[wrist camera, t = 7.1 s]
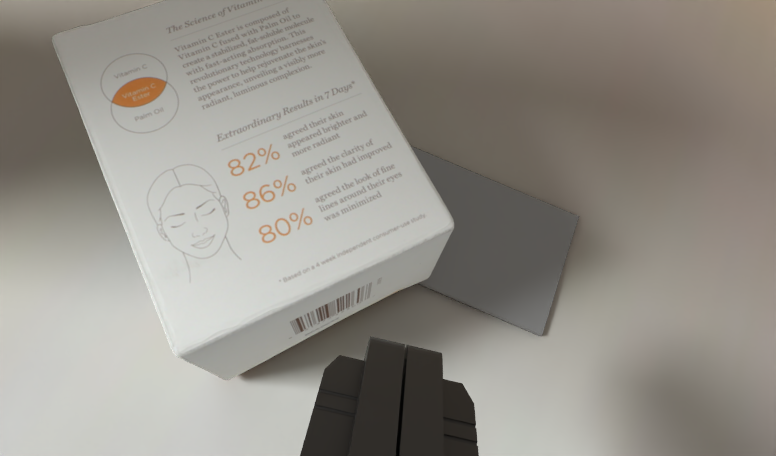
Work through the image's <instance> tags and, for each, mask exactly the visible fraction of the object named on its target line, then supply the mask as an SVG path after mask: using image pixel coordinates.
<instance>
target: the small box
mask: <svg viewBox="0 0 776 456" xmlns="http://www.w3.org/2000/svg"><path fill="white" fill-rule="evenodd" d="M52 43H53V46H54V49H55V51H56V54H57V56H58V59H59V61H60V64H61V66H62V69H63V71H64V74H65V76H66V79H67V81H68V84H69V87H70V89H71V92H72V94H73V97H74V99H75V102H76V104H77V107H78V109H79V112H80V115H81V118H82V120H83V123H84V125H85V128H86V130H87V133H88V136H89V138H90V141H91V144H92V146H93V149H94V151H95V154H96V157H97V159H98V162H99V165H100V167H101V170H102V172H103V175H104V178H105V180H106V183H107V185H108V188H109V191H110V193H111V196H112V198H113V201H114V203H115V206H116V208H117V211H118V213H119V216H120V219H121V221H122V224H123V226H124V229H125V231H126V234H127V236H128V239H129V242H130V244H131V247H132V249H133V252H134V255H135V257H136V260H137V262H138V265H139V267H140V270H141V272H142V275H143V277H144V280H145V282H146V285H147V288H148V290H149V293H150V296H151V298H152V301H153V303H154V306H155V308H156V311H157V313H158V316H159V318H160V321H161V323H162V326H163V329H164V332H165V334H166V337H167V340H168V342H169V345H170V348H171V350H172V351H173V353H174V355H175V356H176V357H178V358H180V359H183V360H185V361H187V362H189V363H191V364H193V365H196V366H198V367H200V368H202V369H204V370H206V371H208V372H210V373H212V374H214V375H216V376H218V377H220V378H222V379H224V380H229V379H231V378H233V377H235V376H238V375H239V374H241V373H243V372H245V371H247V370H249V369H251V368H253V367H255V366H257V365H259V364H260V363H262V362H264V361H266V360H268V359H270V358H272V357H273V356H275V355H277V354H279V353H281V352H283V351H285V350H286V349H288V348H290V347H292V346H294V345H296V344H298V343H300V342H301V341H303V340H305V339H307V338H309V337H311V336H313V335H314V334H316V333H318V332H320V331H322V330H324V329H326V328H328V327H329V326H331V325H333V324H335V323H337V322H339V321H341V320H342V319H344V318H346V317H348V316H350V315H352V314H354V313H356V312H358V311H360V310H362V309H364V308H366V307H368V306H370V305H372V304H374V303H376V302H378V301H380V300H382V299H384V298H386V297H388V296H390V295H392V294H394V293H396V292H398V291H400V290H402V289H405V288H407V287H410V286H412V285H414V284H417V283H419V282H421V281H424V280H426V279H428V278H429V277H430V275H431V273H432V271H433V269H434V267H435V265H436V263H437V261H438V259H439V257H440V255H441V253H442V251H443V249H444V247H445V245H446V243H447V241H448V239H449V237H450V235H451V233H452V231H453V229H454V221H453V218H452V216H451V214H450V212H449V210H448V209H447V207H446V205H445V204H444V202H443V200H442V198H441V197H440V195H439V193H438V192H437V190H436V188H435V187H434V185H433V183H432V182H431V180H430V178H429V177H428V175H427V173H426V172H425V170H424V168H423V167H422V165H421V163H420V161H419V160H418V158H417V156H416V155H415V153H414V151H413V150H412V148H411V146H410V145H409V143H408V141H407V139H406V138H405V136H404V134H403V133H402V131H401V129H400V127H399V126H398V124H397V122H396V121H395V119H394V117H393V116H392V114H391V112H390V111H389V109H388V107H387V106H386V104H385V102H384V101H383V99H382V97H381V96H380V94H379V92H378V90H377V89H376V87H375V85H374V84H373V82H372V80H371V78H370V77H369V75H368V73H367V71H366V70H365V68H364V66H363V64H362V63H361V61H360V59H359V57H358V56H357V54H356V52H355V51H354V49H353V47H352V46H351V44H350V42H349V40H348V38H347V37H346V35H345V33H344V32H343V30H342V28H341V26H340V25H339V23H338V21H337V19H336V18H335V16H334V14H333V12H332V11H331V9H330V7H329V5H328V4H327V2H326V0H165V1H162V2H159V3H156V4H153V5H150V6H147V7H144V8H141V9H137V10H134V11H131V12H128V13H125V14H122V15H119V16H116V17H113V18H110V19H107V20H104V21H101V22H97V23H94V24H90V25H87V26H79V27H76V28H73V29H70V30H66V31H63V32H60V33H57V34H55V35H53V37H52Z"/></svg>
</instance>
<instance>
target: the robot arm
mask: <svg viewBox="0 0 776 456" xmlns="http://www.w3.org/2000/svg"><path fill="white" fill-rule="evenodd" d="M404 350H405V351H404ZM475 425H476V421H475V410H474V403H473V401H472V399H471V398H470V396H469V394H468V393H467V391H466V389H465V387H464V386H463V384H462V383H457V382H453V381H449V380H445V379H443V365H442V353H439V352H435V351H431V350H426V349H422V348H418V347H414V346H409V345H407V346H406V348H405V345H404V344H400V343H396V342H391V341H387V340H383V339H379V338H374V337H370V339H369V343H368V346H367V350H366V354H365V358H364V361H362V360H358V359H354V358H349V357H345V356H341V355H339V356H338V357H337V358H336V359H335V360H334V361H333V362H332V363H331V364H330V365H329V366H328V367H327V368H326V369H325V370H324V374H323V377H322V381H321V384H320V388H319V392H318V395H317V398H316V402H315V406H314V409H313V412H312V416H311V419H310V423H309V426H308V430H307V433H306V437H305V440H304V444H303V448H302V451H301V455H300V456H478V446H477V433H476V428H475Z"/></svg>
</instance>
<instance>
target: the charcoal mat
mask: <svg viewBox="0 0 776 456" xmlns="http://www.w3.org/2000/svg"><path fill="white" fill-rule="evenodd" d="M411 148H412V150H413V151H414V153H415V155H416V156H417V158H418V160H419V161H420V163H421V165H422V167H423V168H424V170H425V172H426V173H427V175H428V177H429V178H430V180H431V182H432V183H433V185H434V187H435V188H436V190H437V192H438V193H439V195H440V197H441V198H442V200H443V202H444V204H445V205H446V207H447V209H448V210H449V212H450V214H451V216H452V218H453V221H454V229H453V231H452V233H451V235H450V237H449V239H448V241H447V243H446V245H445V247H444V249H443V251H442V253H441V255H440V257H439V259H438V261H437V263H436V265H435V267H434V269H433V271H432V273H431V275H430V277H429V278H428V279H426V280H424V281H421V282H419V283H418V284H420V285H422V286H424V287H427V288H429V289H431V290H434V291H436V292H438V293H441V294H443V295H445V296H448V297H450V298H452V299H455V300H457V301H459V302H462V303H464V304H466V305H469V306H471V307H473V308H476V309H478V310H480V311H483V312H485V313H487V314H490V315H492V316H494V317H497V318H499V319H501V320H504V321H506V322H508V323H510V324H513V325H515V326H517V327H520V328H522V329H524V330H527V331H529V332H531V333H534V334H536V335H538V336H542V334H543V331H544V328H545V324H546V321H547V318H548V315H549V312H550V308H551V305H552V302H553V299H554V295H555V292H556V289H557V286H558V283H559V279H560V276H561V273H562V270H563V267H564V263H565V260H566V257H567V254H568V250H569V247H570V244H571V241H572V238H573V234H574V231H575V228H576V225H577V221H578V218H579V216H577V215H574V214H572V213H570V212H567V211H565V210H562V209H560V208H558V207H555V206H553V205H551V204H548V203H546V202H543V201H541V200H539V199H536V198H534V197H532V196H529V195H527V194H524V193H522V192H520V191H517V190H515V189H512V188H510V187H508V186H505V185H503V184H501V183H498V182H496V181H493V180H491V179H489V178H486V177H484V176H482V175H479V174H477V173H474V172H472V171H470V170H467V169H465V168H462V167H460V166H458V165H455V164H453V163H451V162H448V161H446V160H443V159H441V158H439V157H436V156H434V155H431V154H429V153H427V152H424V151H422V150H420V149H417V148H415V147H412V146H411Z"/></svg>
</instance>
